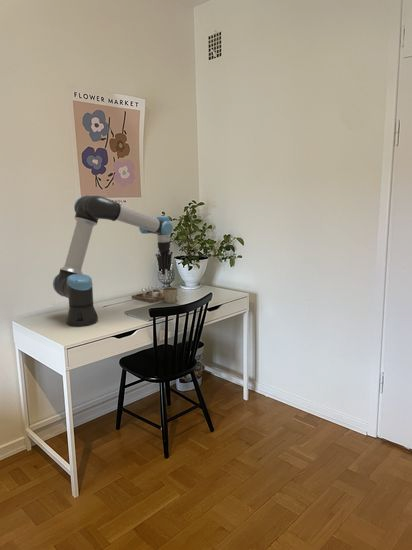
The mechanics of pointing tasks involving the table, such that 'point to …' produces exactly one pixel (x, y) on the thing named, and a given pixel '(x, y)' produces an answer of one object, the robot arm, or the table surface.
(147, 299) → the tray
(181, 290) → the table surface
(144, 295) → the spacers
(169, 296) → the flower pot
